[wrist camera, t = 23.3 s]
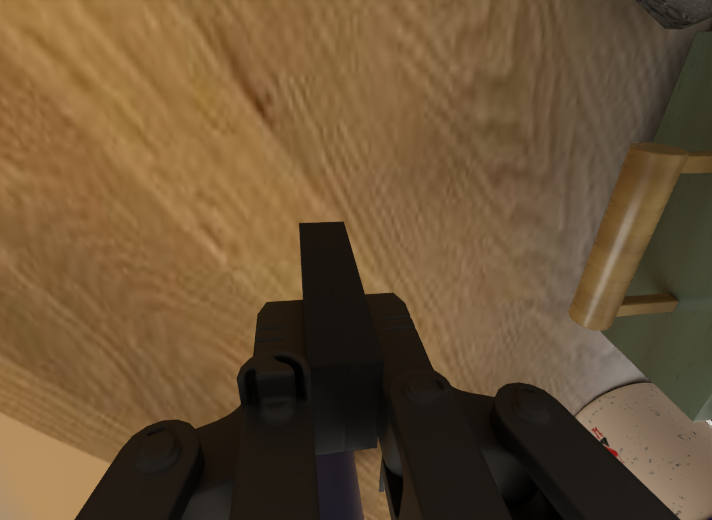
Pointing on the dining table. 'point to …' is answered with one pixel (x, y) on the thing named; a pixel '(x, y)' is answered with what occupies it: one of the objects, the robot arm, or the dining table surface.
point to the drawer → (662, 248)
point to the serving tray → (678, 12)
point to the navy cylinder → (338, 487)
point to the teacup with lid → (656, 445)
